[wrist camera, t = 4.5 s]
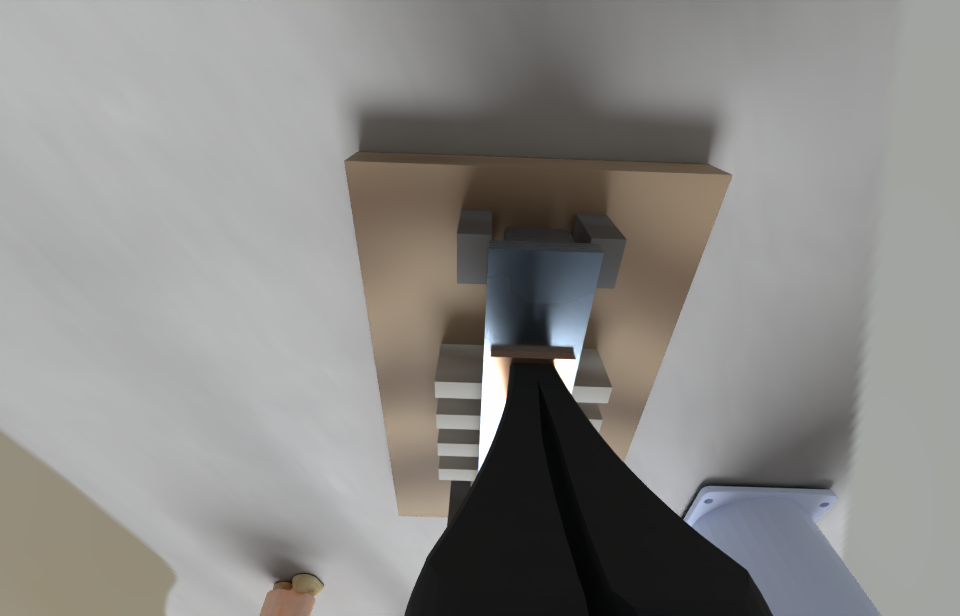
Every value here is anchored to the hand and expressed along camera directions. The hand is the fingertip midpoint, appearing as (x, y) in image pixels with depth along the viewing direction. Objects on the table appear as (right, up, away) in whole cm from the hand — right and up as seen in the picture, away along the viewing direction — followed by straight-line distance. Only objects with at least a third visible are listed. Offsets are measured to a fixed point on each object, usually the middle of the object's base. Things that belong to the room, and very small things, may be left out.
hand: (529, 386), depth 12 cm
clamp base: (0, -1, +6) cm, 6 cm away
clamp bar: (0, -1, +4) cm, 4 cm away
